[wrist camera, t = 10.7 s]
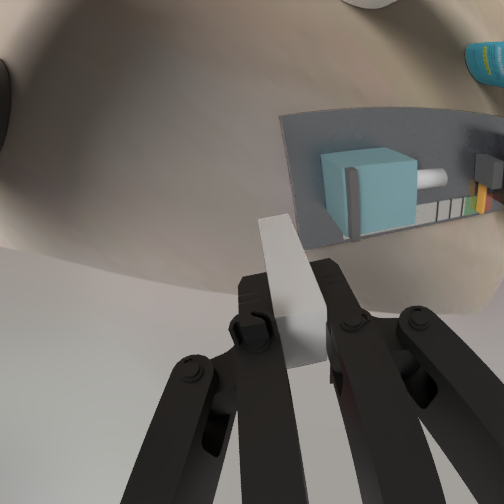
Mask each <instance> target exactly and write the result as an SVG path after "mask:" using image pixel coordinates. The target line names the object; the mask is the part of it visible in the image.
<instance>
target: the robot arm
mask: <svg viewBox="0 0 504 504" xmlns="http://www.w3.org/2000/svg"><path fill="white" fill-rule="evenodd" d="M9 111H10V82H9V76H8V72H7V69H6V67H5V65H4V63H3V62H2V61H1V60H0V149H1V147H2V144H3V141H4V138H5V134H6V130H7V125H8V119H9ZM258 225H259V230H260V236H261V241H262V247H263V253H264V258H265V264H266V270H267V272H264V273H259V274H254V275H249V276H244V277H242V279H241V281H240V283H239V285H238V303H239V314H238V315H236V316H235V317H234V318H233V319H232V321H231V322H230V325H229V329H228V330H229V332H230V334H231V337H232V339H233V342H234V344H235V345H234V346H233V347H232V348H231V349H230V350H229V351H227V352H226V353H224V354H222V355H220V356H217V357H215V358H212V359H208V358H207V357H206V356H202V355H199V354H198V355H190V356H187V357H185V358H183V359H181V360H180V361H179V362H178V363H177V364H176V365H175V367H174V368H173V370H172V372H171V375H170V377H169V380H168V382H167V385H166V387H165V389H164V392H163V394H162V396H161V399H160V401H159V404H158V406H157V409H156V411H155V414H154V416H153V419H152V421H151V424H150V426H149V429H148V431H147V434H146V436H145V439H144V441H143V444H142V446H141V449H140V452H139V454H138V457H137V459H136V462H135V465H134V467H133V470H132V473H131V475H130V478H129V481H128V483H127V486H126V489H125V492H124V494H123V497H122V500H121V503H120V504H213V500H214V496H215V492H216V489H217V485H218V481H219V478H220V474H221V470H222V466H223V462H224V459H225V455H226V451H227V447H228V443H229V439H230V435H231V431H232V427H233V423H234V419H235V415H236V411H238V431H239V453H240V474H241V492H242V504H309V501H308V494H307V487H306V481H305V475H304V468H303V462H302V456H301V450H300V444H299V437H298V431H297V426H296V420H295V414H294V408H293V402H292V396H291V390H290V384H289V379H288V374H287V369H289V368H295V367H300V366H304V365H309V364H313V363H317V362H322V361H326V360H327V354H328V358H329V361H330V384H332V383H333V384H334V388H335V391H336V395H337V398H338V402H339V406H340V410H341V413H342V417H343V421H344V425H345V429H346V433H347V437H348V441H349V445H350V449H351V453H352V457H353V461H354V466H355V470H356V475H357V479H358V484H359V488H360V493H361V497H362V502H363V504H446V501H445V497H444V494H443V490H442V487H441V483H440V479H439V476H438V473H437V470H436V466H435V463H434V460H433V457H432V454H431V451H430V448H429V445H428V443H427V440H426V437H425V434H424V432H423V429H422V426H421V424H420V421H419V419H420V420H421V421H422V423H423V424H424V426H425V427H426V428H427V430H428V431H429V432H430V434H431V435H432V437H433V438H434V439H435V441H436V442H437V444H438V445H439V446H440V448H441V449H442V451H443V452H444V453H445V455H446V456H447V458H448V459H449V461H450V462H451V463H452V465H453V466H454V468H455V469H456V471H457V472H458V473H459V475H460V477H461V478H462V480H463V481H464V483H465V484H466V486H467V487H468V488H469V490H470V492H471V493H472V495H473V496H474V498H475V499H476V500H477V502H478V504H504V384H503V383H502V382H501V381H500V380H499V378H498V377H497V376H496V375H495V374H494V373H493V372H492V371H491V370H490V368H489V367H488V366H487V365H486V364H485V363H484V362H483V361H482V360H481V359H480V358H479V357H478V356H477V355H476V354H475V353H474V351H473V350H472V349H470V348H469V346H468V345H467V344H466V343H465V342H464V341H463V340H462V339H461V338H460V337H458V335H457V334H456V333H455V332H453V330H451V329H450V328H449V327H448V326H447V325H446V324H445V323H444V322H443V321H442V320H441V319H440V318H439V317H438V316H437V315H436V314H435V313H434V312H432V311H431V310H429V309H428V308H426V307H422V306H411V307H408V308H406V309H405V310H404V311H402V312H401V314H400V317H399V318H377V317H373V316H371V314H370V313H369V312H368V311H366V310H364V309H362V308H361V307H360V305H359V303H358V301H357V299H356V298H355V296H354V294H353V292H352V290H351V288H350V286H349V284H348V282H347V281H346V278H345V277H344V275H343V274H342V271H341V269H340V267H339V265H338V264H337V263H335V262H334V261H332V260H331V259H330V258H327V259H323V260H318V261H313V262H309V261H308V259H307V256H306V254H305V251H304V249H303V247H302V244H301V242H300V240H299V237H298V235H297V233H296V230H295V228H294V226H293V223H292V221H291V219H290V216H289V214H288V213H286V214H281V215H276V216H271V217H266V218H261V219H258ZM418 417H419V418H418Z"/></svg>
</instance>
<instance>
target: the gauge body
mask: <svg viewBox="0 0 504 504" xmlns="http://www.w3.org/2000/svg"><path fill="white" fill-rule="evenodd" d="M320 155H321V162H322V170H323V179H324V188H325V198H326V208H327V212H328V213H329V215H330V216H331V217H332V219H333V220H334V221H335V223H336V224H337V225H338V227H339V228H340V230H341V231H342V232H343V234H344V235H345V237H349V238H350V240H351V241H352V242H356V241H360V235H361V234H366V233H371V232H376V231H381V230H386V229H391V228H396V227H401V226H407V225H412V224H415V221H416V206H417V189H423V188H431V187H439V186H445V185H446V184H447V181H448V177H447V173H446V171H445V170H444V169H443V168H436V169H424V170H417V160H416V159H413V158H411V157H409V156H406V155H404V154H401V153H399V152H396V151H394V150H391V149H389V148H386V147H382V148H371V149H360V150H351V151H342V152H334V153H326V154H320Z"/></svg>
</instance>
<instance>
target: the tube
mask: <svg viewBox="0 0 504 504" xmlns="http://www.w3.org/2000/svg"><path fill="white" fill-rule="evenodd" d="M465 59H466V63H467V66H468V69H469V71H470V73H471V75H472V76H473V77H474V78H475V79H476V80H477V81H478V82H480V83H482V84H487V85H492V86H497V87H502V88H504V42H486V43H473V44H469V45H468V46H467V48H466V51H465Z"/></svg>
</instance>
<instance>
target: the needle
mask: <svg viewBox="0 0 504 504" xmlns="http://www.w3.org/2000/svg"><path fill="white" fill-rule="evenodd" d="M503 167H504V161H502V160H500V159H497V158H495V157H493V156H490V155H488V154H476V157H475V177H474V180H475V181H477V182H479V187H478V196H477V205H476V211H477V212H478V213H480V214H484V209H485V202H486V194H487V187H488V188H490V189H500V188H502V179H503Z"/></svg>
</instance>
